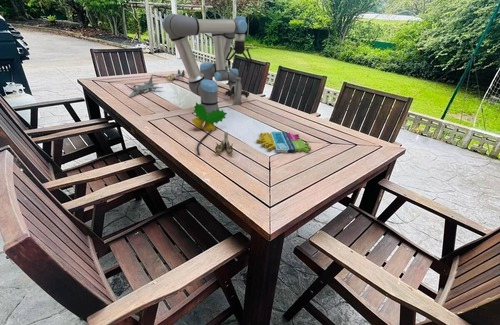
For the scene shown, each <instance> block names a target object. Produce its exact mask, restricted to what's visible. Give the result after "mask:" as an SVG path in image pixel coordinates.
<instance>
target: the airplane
mask: <svg viewBox="0 0 500 325" xmlns="http://www.w3.org/2000/svg"><path fill="white" fill-rule="evenodd" d="M153 75H154V74H151V76H150V78H149V80H148V81H147V82H146V81H144V82H143V85H142V84H134V83H129V84H128V85H130V86H132V87H131V89H133V91H132V92H131V93H130V94H129V95H128V96H127V98H129V97H130V98H131V97H135V96H137V95H139V94H141V93H148V92H150V91H151V90H152V92H154V91H156V90H157V89H163V88H164V87H162V86H157V85H158V83H154V82H153V78H154V76H153ZM155 85H156V86H155Z"/></svg>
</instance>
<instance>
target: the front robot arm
mask: <svg viewBox="0 0 500 325" xmlns="http://www.w3.org/2000/svg"><path fill="white" fill-rule="evenodd" d="M220 19H221V20H218V19H212V18H211V19H207V18H206V19H204V18H203V19H201V18H198V17H196V16H193V17H192V16H187V15H183V14H176V13H169V14H166V15H165V16H164V18H163V19H162V28H163V30H164V32H165V33H166V34H167V35H168V37H169V40H170V41H171V42H172V43H174V45H175V47H176V50H177V52H178V54H179V57H180V59H181V61H182V64H183V66H184V68H185V70H186V73H187V75H188V79H187V82H188V83H189V84H188V88H189V90H190V92H191V93H193V94H194V95H196V96H197V97H200V104H201V106H204V109H206V112H208V113H211V112H212V110H214V111H216V110H217V109H219V111H221V110H220V108H219V102H218V99H219V98H218V97H219V87H218V82H217V81H216V80H208V79H205V77H204V75H203V74H202V73H200V66H199V65H198V63H197V60H196V58H195V55H194V53H193V49H192V47H191V45H190V42H189V39H188V38H189V37H192V36H199V34H212V33H235V38H234V45H233V46H234V47H233V46H230V50H229V53H228V55H227V57H226V60H227V61H226V62H227V66H228V71H230V69H231V60H232V59H233V57H234V56H235V55H242V56H243V57H244V58H245V60H246V72H249V67H250V65H251V63H252V62H253V59H252V56H251V54H250V51H249V50H250V49H249V48H248V47H245V45H246V43H245V42H246V41H245V40H246V32H247V31H248V23H247V19H246V17H245V16H237V15H236V16H235V18H234V19H233V18H220ZM233 51H234V52H233ZM232 52H233V53H232ZM245 52H246V53H247V55H246V53H245ZM231 53H232V54H231ZM247 56H248V57H247ZM208 113H207V115H208ZM211 133H212V130H210V131H208V132H207V133H206V134H205V136H203V137H202V138H200V140H199V141H198V143H197V146H196V152H197V155H198V156H199V155H200V151H199V147H200V144H201V143H202V142H203V140H204V139H205V138H206V137H208V136H209V134H211Z"/></svg>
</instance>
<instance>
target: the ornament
mask: <svg viewBox="0 0 500 325" xmlns="http://www.w3.org/2000/svg"><path fill="white" fill-rule="evenodd" d="M219 110H220V108H219V109H217V110H216V111H214V110H212V112H211V113H208V112H206V109H204V106H201V103H198V102H195V105H194V106H193V112H194V113H195V118H192V119H191V122H192V123H193V125H195V127H197V128H198V129H202V130H203V131H206V132H210V130H212V131H213V132H214V131H215V130H216V126H215V124H218V123H219V122H223V119H226V115H227V114H228V113H227V112H224V110H223V109H221V110H220V111H219ZM207 113H208V115H207ZM214 123H215V124H214ZM212 131H211V132H212Z"/></svg>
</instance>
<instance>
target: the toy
mask: <svg viewBox="0 0 500 325" xmlns="http://www.w3.org/2000/svg"><path fill="white" fill-rule="evenodd" d="M160 76H161V77H160V78H164V77H165V79H166V80H167V81H170V82H171V81H173V80H174V79H178V80H181V81H184V78H183V77H185V76H186V73H185V70H180V69H178V70H177V73H171V74H169V75H163V74H161V75H160ZM180 77H181V78H180Z"/></svg>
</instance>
